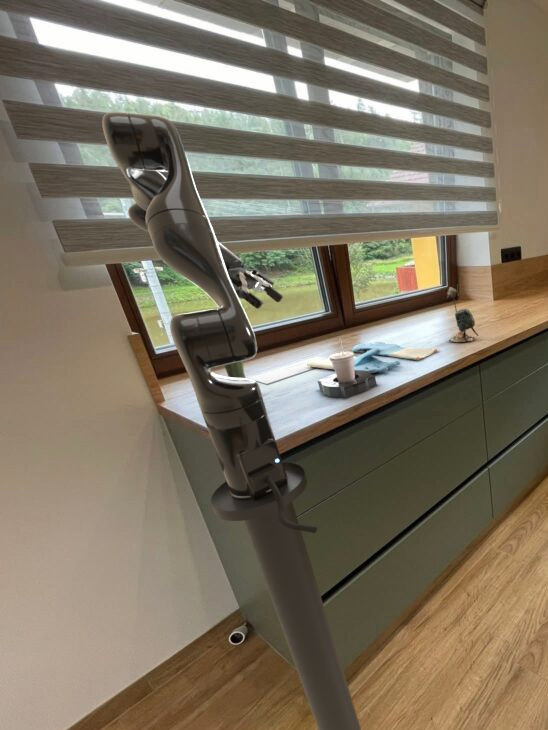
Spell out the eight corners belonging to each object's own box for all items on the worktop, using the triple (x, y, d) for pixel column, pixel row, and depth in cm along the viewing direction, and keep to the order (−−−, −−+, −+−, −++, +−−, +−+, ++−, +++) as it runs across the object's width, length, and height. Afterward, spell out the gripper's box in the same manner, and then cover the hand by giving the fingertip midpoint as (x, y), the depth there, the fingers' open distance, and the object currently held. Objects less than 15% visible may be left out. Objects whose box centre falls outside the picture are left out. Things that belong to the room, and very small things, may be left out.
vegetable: (238, 408, 109) (214, 332, 102) (236, 403, 112) (212, 329, 105) (258, 403, 111) (235, 328, 104) (255, 398, 115) (232, 326, 107)
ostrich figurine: (469, 345, 151) (463, 288, 144) (445, 342, 157) (439, 287, 150) (483, 339, 158) (478, 284, 150) (459, 336, 164) (454, 283, 156)
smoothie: (365, 385, 119) (355, 337, 114) (346, 393, 114) (335, 343, 109) (350, 382, 123) (340, 335, 117) (331, 390, 118) (320, 341, 112)
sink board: (382, 383, 120) (380, 374, 119) (342, 400, 110) (340, 389, 109) (353, 377, 127) (351, 367, 126) (314, 392, 117) (311, 382, 116)
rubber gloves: (368, 344, 161) (365, 327, 159) (438, 351, 147) (436, 333, 144) (307, 367, 138) (302, 348, 136) (383, 378, 124) (379, 357, 122)
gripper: (200, 249, 99) (260, 296, 102) (241, 245, 112) (293, 287, 115) (187, 274, 101) (246, 319, 104) (228, 267, 114) (280, 307, 117)
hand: (271, 302), depth 110 cm, fingers open, 8 cm apart
